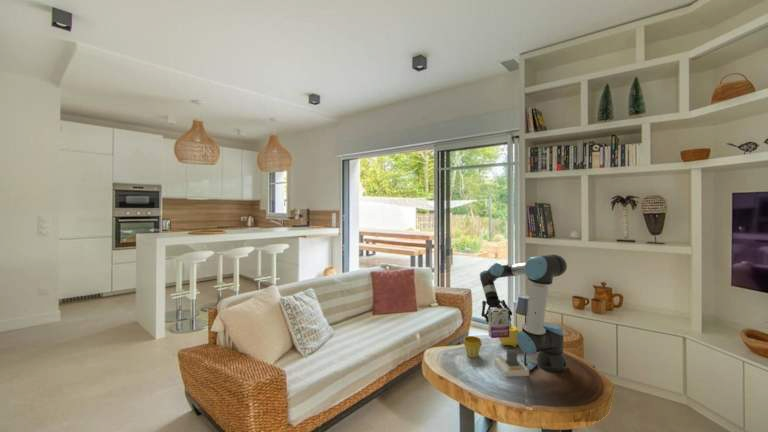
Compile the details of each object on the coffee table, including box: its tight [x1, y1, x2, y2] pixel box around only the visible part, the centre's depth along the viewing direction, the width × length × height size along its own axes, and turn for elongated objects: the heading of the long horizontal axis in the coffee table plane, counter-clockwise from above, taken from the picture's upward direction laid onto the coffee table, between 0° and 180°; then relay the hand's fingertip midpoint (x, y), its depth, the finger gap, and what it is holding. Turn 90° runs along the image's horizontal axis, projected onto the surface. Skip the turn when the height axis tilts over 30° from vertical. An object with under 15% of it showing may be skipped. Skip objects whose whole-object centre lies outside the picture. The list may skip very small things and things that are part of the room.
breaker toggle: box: [505, 350, 519, 366], centre depth 180 cm, size 6×4×7 cm, turn 92°
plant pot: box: [463, 335, 482, 359], centre depth 199 cm, size 10×10×10 cm
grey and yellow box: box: [498, 325, 522, 348], centre depth 213 cm, size 13×20×12 cm
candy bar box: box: [487, 307, 509, 339], centre depth 195 cm, size 11×5×16 cm, turn 95°
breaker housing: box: [494, 355, 530, 378], centre depth 181 cm, size 13×15×4 cm
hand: (500, 326), depth 193 cm, fingers closed on candy bar box, 11 cm apart
